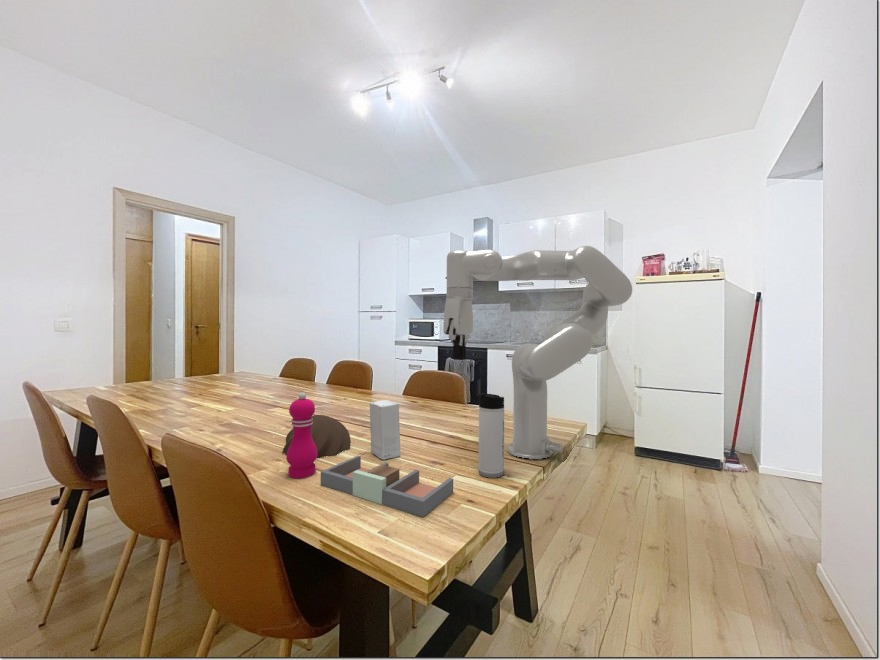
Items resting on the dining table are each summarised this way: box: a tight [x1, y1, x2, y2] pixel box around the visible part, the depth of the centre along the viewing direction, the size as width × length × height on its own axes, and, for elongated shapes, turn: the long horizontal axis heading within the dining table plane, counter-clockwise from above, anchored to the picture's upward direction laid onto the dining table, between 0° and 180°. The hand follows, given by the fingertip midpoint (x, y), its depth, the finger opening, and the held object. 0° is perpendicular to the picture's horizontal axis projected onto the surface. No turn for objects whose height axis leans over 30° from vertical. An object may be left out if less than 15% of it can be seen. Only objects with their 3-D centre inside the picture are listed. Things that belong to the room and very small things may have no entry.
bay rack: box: [320, 455, 454, 518], centre depth 82 cm, size 28×12×5 cm, turn 60°
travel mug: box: [477, 392, 505, 479], centre depth 91 cm, size 6×7×20 cm
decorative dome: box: [282, 414, 352, 459], centre depth 110 cm, size 19×20×10 cm
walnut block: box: [368, 464, 400, 487], centre depth 82 cm, size 5×5×4 cm
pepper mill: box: [285, 392, 318, 479], centre depth 90 cm, size 7×7×20 cm
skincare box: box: [369, 399, 401, 461], centre depth 104 cm, size 8×6×15 cm
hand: (459, 359), depth 104 cm, fingers closed
